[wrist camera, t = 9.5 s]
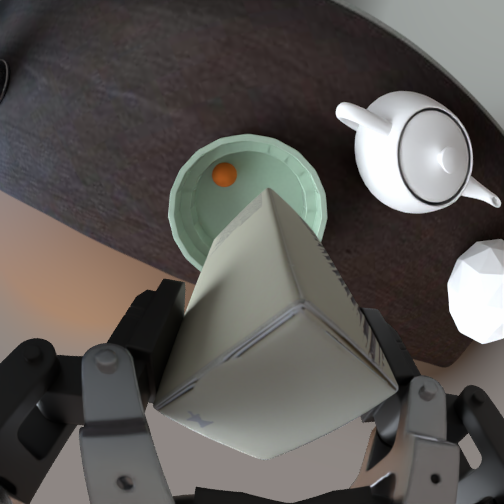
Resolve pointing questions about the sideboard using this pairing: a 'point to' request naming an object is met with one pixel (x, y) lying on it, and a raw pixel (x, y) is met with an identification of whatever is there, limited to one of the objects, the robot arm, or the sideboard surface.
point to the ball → (224, 174)
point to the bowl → (240, 190)
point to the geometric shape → (479, 291)
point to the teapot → (413, 152)
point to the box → (271, 340)
